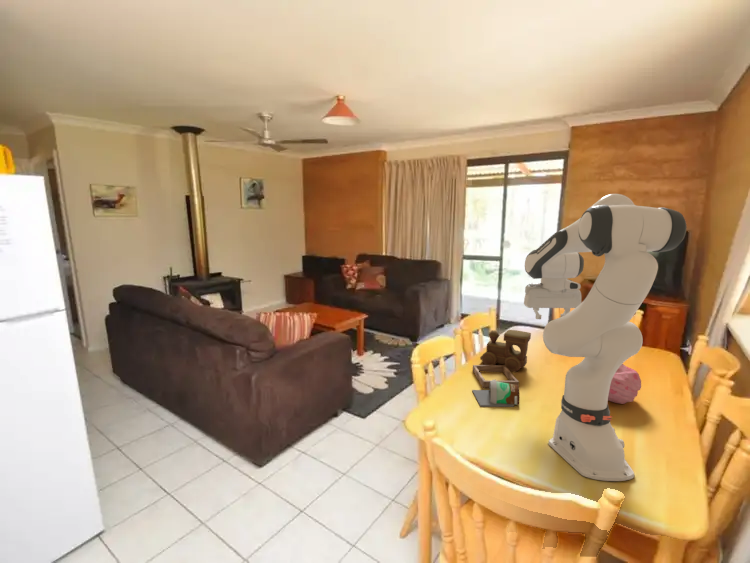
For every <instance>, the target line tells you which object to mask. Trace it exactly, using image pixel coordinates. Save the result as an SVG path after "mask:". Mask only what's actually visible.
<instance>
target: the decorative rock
mask: <svg viewBox="0 0 750 563" xmlns="http://www.w3.org/2000/svg"><path fill="white" fill-rule="evenodd" d="M641 389H642V380H641V377H640V374H639V373H638V372H637V371H636V370H635V369H633V368H631V367H628V366H626V365H624V363H623V364H622V365H621V366H620V367H619V368H618V370H617V371H616V373H615V374H614V376H613V378H612V381H611V384H610V389H609V395H608V401H610V402H611V403H615V404H622V405H625V404H627V403H630V402H631V403H632V402H633V401H634V400H635V398H636V397H637V396H638V395H639V394H638V393H639V392H638V391H641Z"/></svg>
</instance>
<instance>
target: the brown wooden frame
mask: <svg viewBox="0 0 750 563" xmlns="http://www.w3.org/2000/svg"><path fill="white" fill-rule="evenodd" d="M479 371H486V372H487V373H490V372H491V373H503V374H504V376H505V377H506V378H507V379H508V380H496V381H497V382H503V383H508V384H514V385H518V386H519V387H520V381H519V380H518V379H517V378H516V377H515V376H514V375H513V372H512V371H509V370H508V369H507V367H506V366H505V364H498V365H497V364H496V365H485V364H473V365H472V372H473V374H474V373H475V374H474V376H475V375H476V376H475V378H476V379H477V380H479V381H478V382H479V384H480V386H481V385H482V386H481V388H482V389H483V388H486V389H485V390H490V389H489V384H490V380H489V379H487V380H486V379H485V378H484V376H483V374H482V372H479ZM486 372H485V373H486Z"/></svg>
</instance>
